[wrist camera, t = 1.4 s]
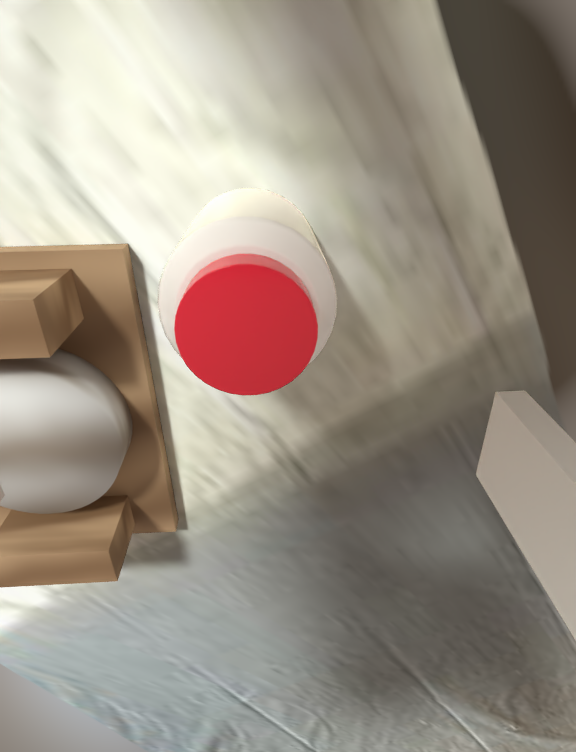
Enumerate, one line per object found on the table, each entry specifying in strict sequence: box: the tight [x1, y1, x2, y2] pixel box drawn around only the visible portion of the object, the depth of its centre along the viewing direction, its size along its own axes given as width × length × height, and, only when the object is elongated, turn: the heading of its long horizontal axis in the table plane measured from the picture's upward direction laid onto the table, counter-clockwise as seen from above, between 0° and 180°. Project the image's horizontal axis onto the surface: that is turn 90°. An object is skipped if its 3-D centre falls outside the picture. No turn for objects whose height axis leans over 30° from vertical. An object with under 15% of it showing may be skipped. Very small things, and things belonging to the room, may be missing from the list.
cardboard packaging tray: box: [0, 244, 178, 587], centre depth 29 cm, size 22×14×6 cm, turn 1°
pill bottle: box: [158, 188, 337, 395], centre depth 22 cm, size 8×8×11 cm
